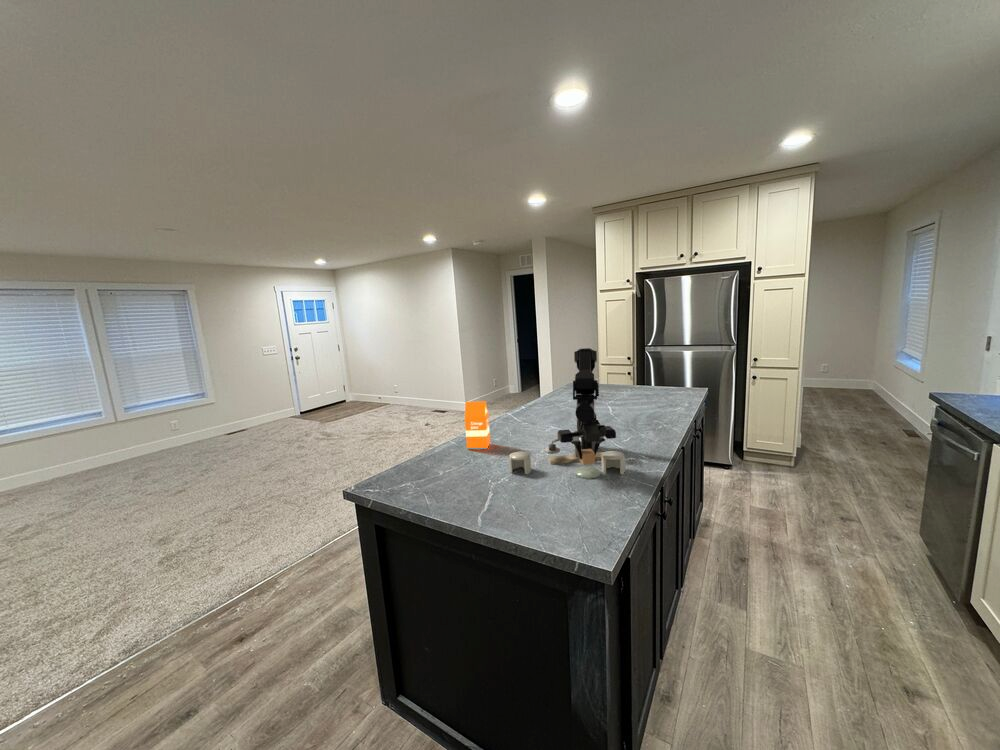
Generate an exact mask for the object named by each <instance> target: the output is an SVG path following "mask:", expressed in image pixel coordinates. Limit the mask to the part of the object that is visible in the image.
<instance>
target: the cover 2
mask: <svg viewBox="0 0 1000 750" xmlns="http://www.w3.org/2000/svg"><path fill="white" fill-rule="evenodd" d="M610 467H616V468H615V469H618V468H620V469H619V475H620V474H622V475H624V474H625V473H626V456H625V454H624V453H623V452H620V451H617V450H607V451H604V452H603V453H602V455H601V472H602V473H603V472H604V473H605V475H607V469H611V468H610ZM624 472H625V473H624Z"/></svg>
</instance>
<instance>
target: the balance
mask: <svg viewBox="0 0 1000 750" xmlns="http://www.w3.org/2000/svg"><path fill="white" fill-rule="evenodd" d="M598 425H601V423H600V424H598ZM574 432H578V431H577V430H574ZM556 442H560V440H559V439H558V438H556V439H553V440H551V443H549V444H548V447H546V448H545V449H544V452H545V453H546V454H550V455H551V454H552V455H554V456H548V457H547V459H548V460H547V461H548V463H549V464H550V465H558V464H570V463H579V462H580V457H579V455H578V452H577V450H576V447H575V446H574V454H566V455H556V454H558V453H559V454H560V452H561V449H560V448H559V447H557V446H556V444H555V443H556ZM602 453H604V452H603V451H599V452H598V451H597V452H596V455H595V461H599V460H600V459H601V455H602ZM555 455H556V456H555ZM580 463H581V462H580Z"/></svg>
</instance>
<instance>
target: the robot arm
mask: <svg viewBox="0 0 1000 750" xmlns="http://www.w3.org/2000/svg"><path fill="white" fill-rule="evenodd" d="M573 354H574V363H576V369H577V371H578V372H577V373H576V374H574V376H575V377H574V380H572V400H573V401H575V400H576V406H575V407H576V408H575V417H576V419H577V420H576V431H578V432H575V431H571V430H570V429H559V430H558V431H557V439H559V440H560V441H559V442H560V443H563V444H565V443H571V444H572V445H574V448H575V447H576V450H577V452H578V455H579V457H580V459H582V452H581V450H583V449H592V450H593V451H594V453H595V455H596V453H598V450H599V447H600V444H602V443H603V442H606V440H608V439H609V440H610V439H616V438H617V431H616V430H615V429H614V428H613V427H611V426H610V425H604V424H601V423H600V421H599V419H598V418H597V413H596V412H595V400H598V397H599V395H600V394H599V393H600V389H599V385H600V384H599V383H598V380H596V379H595V373H593V371H594V369H595V367H596V363H598V358H597V357H598V355H597V350H595V349H592V348H588V347H587V348H584V347H583V348H579V349H577V350H576V351H574V353H573ZM598 424H600V425H598ZM605 438H606V439H605Z"/></svg>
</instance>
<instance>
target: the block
mask: <svg viewBox="0 0 1000 750" xmlns="http://www.w3.org/2000/svg"><path fill="white" fill-rule="evenodd" d="M581 452H582V459H580V463H581V464H582V465H583V466H587V465H588V466H589V465H590V466H591V465H595V464H596V460H595V453H594V451H593V450H592V449H583V450H582V449H581Z"/></svg>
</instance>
